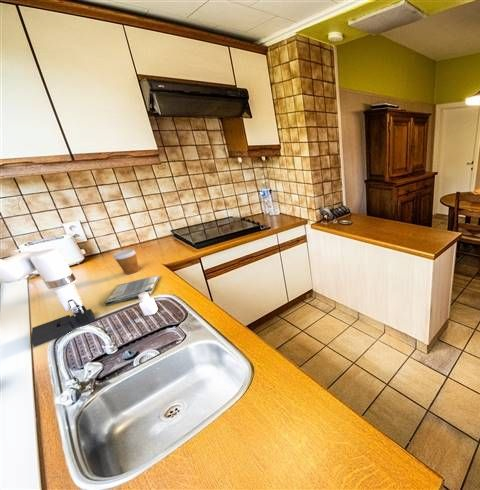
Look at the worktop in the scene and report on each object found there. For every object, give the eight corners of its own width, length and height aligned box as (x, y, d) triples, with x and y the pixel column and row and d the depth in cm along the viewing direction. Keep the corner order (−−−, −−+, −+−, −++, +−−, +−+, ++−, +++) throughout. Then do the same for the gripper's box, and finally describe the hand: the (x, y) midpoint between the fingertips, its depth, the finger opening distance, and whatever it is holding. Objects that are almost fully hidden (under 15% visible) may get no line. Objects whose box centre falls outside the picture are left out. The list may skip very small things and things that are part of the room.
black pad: (95, 320, 108) (91, 314, 107) (64, 332, 102) (59, 326, 101) (94, 314, 112) (90, 308, 111) (63, 325, 106) (59, 319, 105)
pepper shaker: (143, 316, 110) (134, 297, 106) (148, 311, 114) (139, 292, 110) (154, 314, 111) (146, 295, 107) (159, 309, 114) (150, 290, 111)
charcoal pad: (74, 333, 102) (70, 327, 101) (35, 348, 96) (30, 342, 94) (72, 320, 110) (69, 314, 109) (36, 333, 103) (32, 327, 102)
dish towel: (118, 287, 133) (115, 282, 132) (160, 278, 140) (158, 272, 139) (103, 307, 118) (100, 301, 116) (152, 295, 124) (150, 290, 123)
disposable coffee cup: (140, 266, 155) (132, 247, 150) (145, 270, 149) (136, 251, 144) (119, 272, 148) (110, 253, 143) (123, 277, 142) (114, 257, 138)
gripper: (46, 277, 103) (69, 314, 111) (45, 293, 93) (71, 333, 100) (73, 270, 108) (94, 306, 116) (76, 284, 98) (98, 322, 105)
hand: (83, 318), depth 108 cm, fingers closed on black pad, 6 cm apart
